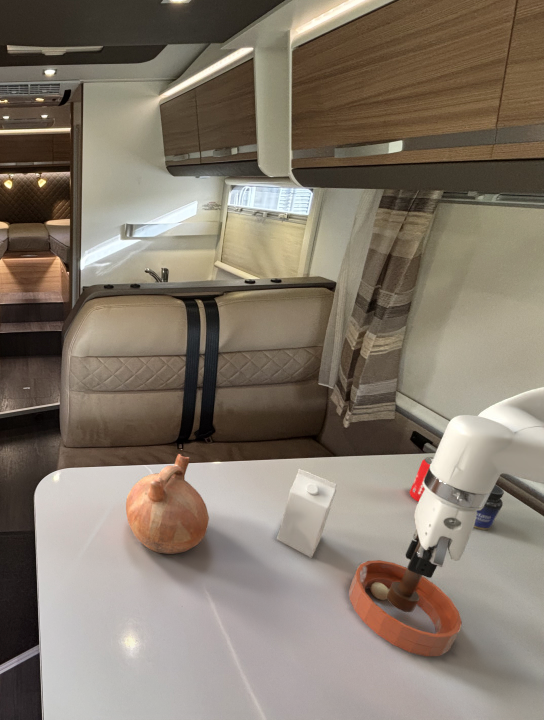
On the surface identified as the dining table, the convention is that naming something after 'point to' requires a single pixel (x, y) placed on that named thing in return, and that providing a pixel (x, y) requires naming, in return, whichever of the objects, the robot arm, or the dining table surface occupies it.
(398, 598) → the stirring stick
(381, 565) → the ring
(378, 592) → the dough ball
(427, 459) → the beverage can
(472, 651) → the dining table surface
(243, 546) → the dining table surface
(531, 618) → the dining table surface
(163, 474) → the jug
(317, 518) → the milk carton
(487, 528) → the pill bottle
